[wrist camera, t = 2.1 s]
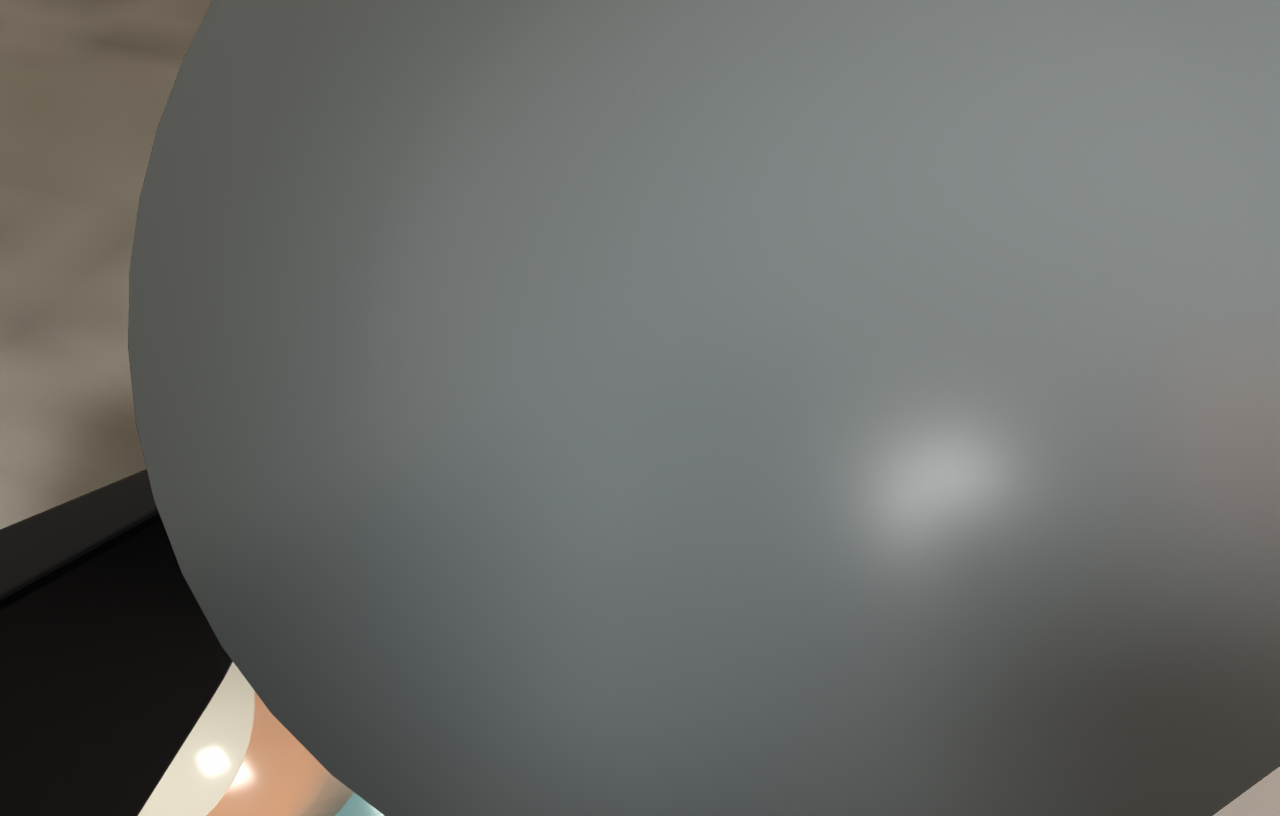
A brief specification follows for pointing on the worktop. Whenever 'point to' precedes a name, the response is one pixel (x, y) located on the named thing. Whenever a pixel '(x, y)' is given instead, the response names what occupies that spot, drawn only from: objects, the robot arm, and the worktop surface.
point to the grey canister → (730, 398)
